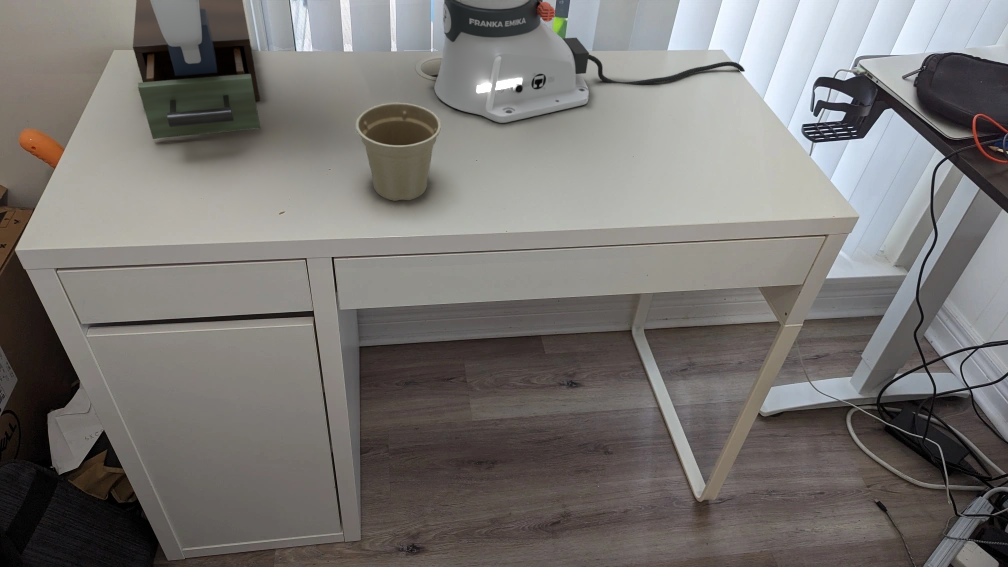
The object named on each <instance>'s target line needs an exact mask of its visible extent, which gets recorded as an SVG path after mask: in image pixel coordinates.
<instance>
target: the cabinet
mask: <svg viewBox="0 0 1008 567" xmlns="http://www.w3.org/2000/svg"><path fill="white" fill-rule="evenodd" d="M199 6H200V9H206V12H207V17H208V22H209V27H210V31H211V36H212V41H213V45H214V48H218V47H232V46H240V50H241V56H242V61H243V67H244V72H245V74H251V79H252V85H253V90H254V96H255V102H259V101H260V102H261V98H260V92H259V86H258V80H257V75H256V69H255V62H254V56H253V50H252V46H251V39H250V34H249V29H248V24H247V22H248V21H247V18H246V13H245V7H244V1H243V0H199ZM133 25H134V26H133V40H132V49H133V52H134V57H135V60H136V63H137V68H138V70H139V74H140V78H141V82H147V56H148V52H159V51H169V49H168V45H167V42H166V40H165V39H164V36H163V34H162V32H161V29H160V27H159V24H158V21H157V18H156V16H155V13H154V10H153V7H152V4H151V1H150V0H135V13H134V24H133Z"/></svg>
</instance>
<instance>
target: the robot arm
mask: <svg viewBox="0 0 1008 567" xmlns="http://www.w3.org/2000/svg"><path fill="white" fill-rule="evenodd" d="M150 1H151V4H152V7H153V10H154V13H155V16H156V18H157V21H158V24H159V27H160V29H161V32H162V34H163V36H164V39H165V40H166V42H167V43H168V45H169V46H173V47H177V46H180V47H181V49H182V52H183V56H184V59H185V62H186V63H188V64H192V63H199V62H200V61H201V55H200V50H199V46H198V45H199V44H200V43H201V42H202V28H201V17H200V6H199V0H150ZM555 15H556V10H555V8H554V7H553V6H552V5H551V4H550V3H549V2H547V1H543V0H443V5H442V26H443V32H444V43H443V50H442V56H441V62H440V67H439V70H438V74H437V77H436V80H435V82H434V93H435V95H436V97H437V98H439V100H441V102H443V103H444V104H446V105H448V106H449V107H451V108H453V109H457V110H459V111H462V112H465V113H469V114H474V115H479V116H483V117H484V118H486V119H489V120H491V121H494V122H496V123H499V124H505V123H510V122H514V121H520V120H523V119H528V118H531V117H537V116H541V115H545V114H549V113H554V112H559V111H563V110H568V109H572V108H577V107H580V106H584V105H587V104H588V102H589V96H590V94H589V93H590V91H589V87H588V85H587V83H586V81H585V80H584V78H583V77H582V76H581V74H587V69H588V62H589V61H591V62H593V63H594V64H595V65H596V66H597V76H598V78H599V79H600V80H601V81H602V82H603V83H606V84H621V85H632V86H633V85H634V86H644V85H650V84H651V85H652V84H657V83H665V82H670V81H674V80H677V79H681V78H683V77H685V76H688V75H691V74H695V73H698V72H705V71H710V70H714V69H718V68H723V67H733V68H736V69H737V70H738V71H739V72H741V73H743V72H746V70H745V68H744V67H743V66H742V65H741V64H740V63H738V62H735V61H722V62H716V63H713V64H708V65H703V66H697V67H694V68H689V69H686V70H684V71H681V72H678V73H675V74H672V75H668V76H662V77H654V78H648V79H642V80H641V79H640V80H635V81H633V80H632V81H616V80H613V79H610V78H608V77H606V76H605V75H604V72H603V71H604V70H603V64H602V61H601V60H600V59H599V58H598V57H596V56H594V55H592V54H590V52H589V51H588V50H587V49H586V47H585V46H584V45H583V44H582V42H581V41H580V40H579V39H578V38H577V37H564V38H562V37H561V36H560V35H559V34H558V33H557V32H556V31H554V30H553V29H552V28H551V27H550V26H548V24H546V23H547V22H548V23H549V22H551V21H553V19H554V18H555Z"/></svg>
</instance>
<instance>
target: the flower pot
mask: <svg viewBox="0 0 1008 567" xmlns="http://www.w3.org/2000/svg"><path fill="white" fill-rule="evenodd" d="M355 130H356V132H357V134H358V136H359V137H360V139H361V142H362V144H363V146H364V147H365V152H366V155H367V160H368V164H369V169H370V174H371V178H372V182H373V187H374V190H375V192H376V193H377V194H378V195H379V196H381V197H382V198H384V199H387V200H388V201H389V200H390V201H393V202H396V201H399V200H404V201H405V200H406V201H411V200H415V199H417V198H419V197H420V196H422V195H423V194H424V193H425V192H426V190H427V186H428V178H429V172H430V166H431V162H432V155H433V149H434V145H435V144H436V142H437V138H438V136H439V134H440V133H441V130H442V122H441V119H440V118H439V117H438V115H437V114H436V113H435V112H433V111H432V110H430V109H428V108H427V107H424V106H421V105H418V104H415V103H410V102H409V103H408V102H388V103H387V102H385V103H381V104H376V105H373V106H372V107H369V108H367V109H366V110H364V111H363V112H361V113H360V114H359V116H358V117H357V118H356V121H355Z"/></svg>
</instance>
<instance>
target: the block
mask: <svg viewBox="0 0 1008 567" xmlns="http://www.w3.org/2000/svg"><path fill="white" fill-rule="evenodd" d="M200 17H201V28H202V42H201V43H200V44H199V45H198V46H199V50H200V55H201V61H200V62H199V63H192V64H188V63H186V62H185V59H184V56H183V52H182V49H181V47H180V46H177V47H173V46H169V45H168V43H167V45H168V49H169V53H170V57H171V61H172V65H173V69H174V72H175V76H183V75H195V74H207V73H217V64H216V55H215V50H214V45H213V41H212V36H211V31H210V27H209V22H208V17H207V12H206V9H200Z"/></svg>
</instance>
